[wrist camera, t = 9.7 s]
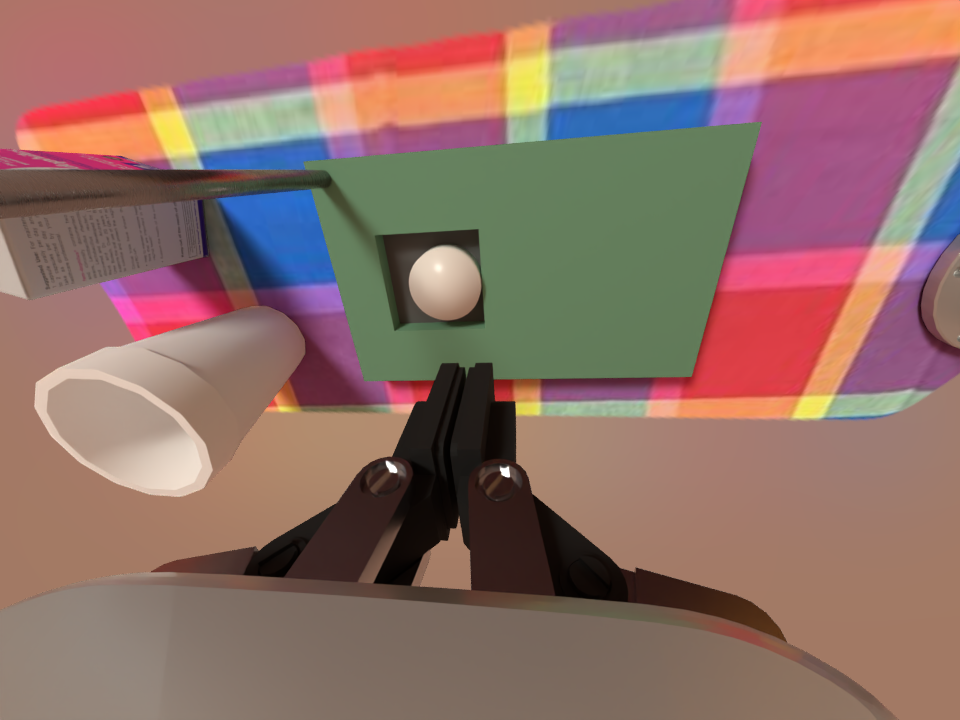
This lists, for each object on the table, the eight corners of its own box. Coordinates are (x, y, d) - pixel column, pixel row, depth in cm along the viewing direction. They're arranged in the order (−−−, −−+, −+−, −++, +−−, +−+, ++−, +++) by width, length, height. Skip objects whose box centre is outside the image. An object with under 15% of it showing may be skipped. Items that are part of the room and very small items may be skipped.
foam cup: (323, 392, 33) (223, 509, 21) (227, 371, 32) (75, 479, 21) (320, 301, 28) (190, 390, 17) (208, 275, 28) (0, 348, 16)
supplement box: (201, 176, 24) (-18, 181, 14) (211, 257, 27) (34, 308, 17) (117, 150, 24) (-169, 136, 14) (136, 235, 27) (-89, 274, 17)
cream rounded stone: (476, 238, 24) (474, 243, 22) (487, 306, 26) (485, 316, 24) (408, 249, 24) (400, 255, 23) (424, 314, 27) (418, 324, 25)
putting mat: (734, 127, 20) (2406, -196, 2) (677, 360, 28) (968, 697, 10) (282, 166, 23) (-471, 153, 5) (343, 366, 31) (115, 632, 13)
